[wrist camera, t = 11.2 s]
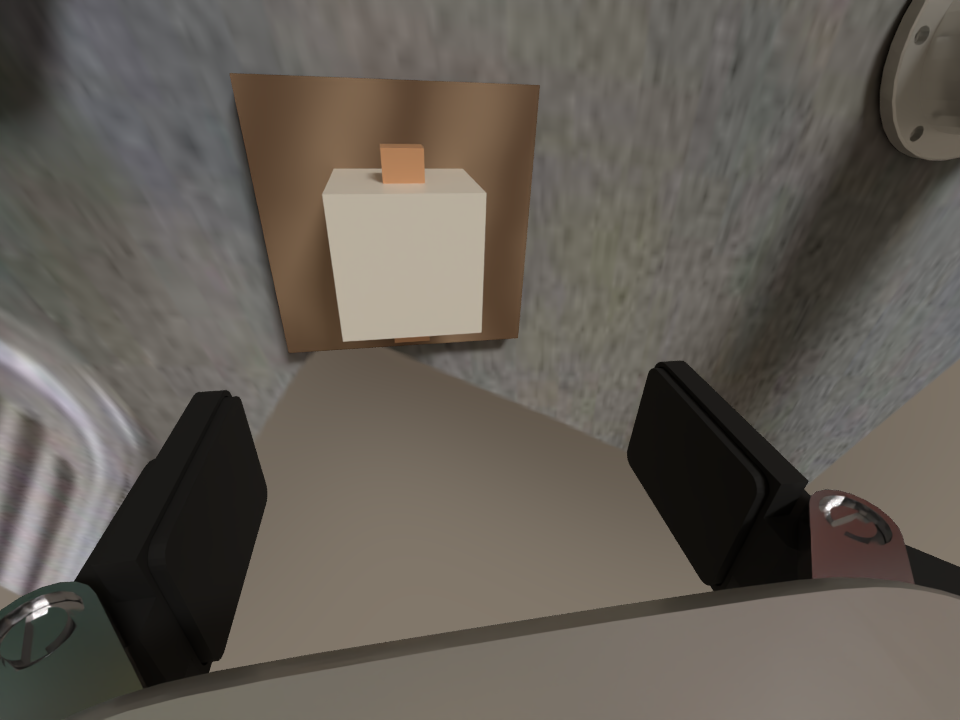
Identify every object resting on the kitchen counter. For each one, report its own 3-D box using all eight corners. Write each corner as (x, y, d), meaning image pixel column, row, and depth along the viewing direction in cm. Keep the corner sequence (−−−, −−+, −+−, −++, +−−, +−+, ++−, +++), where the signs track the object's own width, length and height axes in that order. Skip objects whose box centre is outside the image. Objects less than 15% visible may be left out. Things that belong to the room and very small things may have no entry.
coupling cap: (329, 137, 22) (316, 154, 17) (462, 138, 23) (487, 155, 18) (352, 312, 27) (346, 367, 22) (461, 306, 28) (480, 357, 23)
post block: (531, 84, 24) (573, 86, 18) (512, 327, 31) (539, 376, 26) (238, 73, 21) (194, 72, 16) (292, 340, 28) (274, 398, 23)
